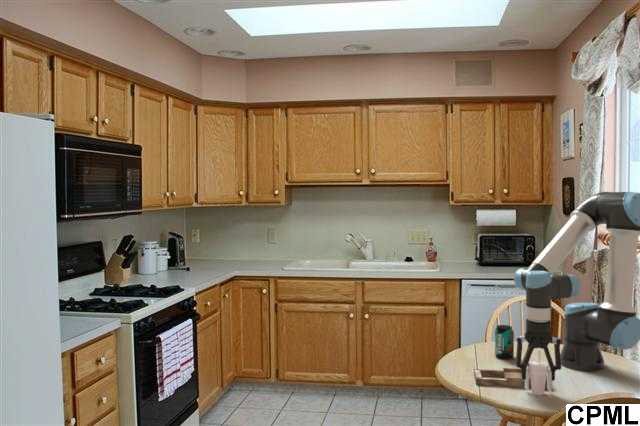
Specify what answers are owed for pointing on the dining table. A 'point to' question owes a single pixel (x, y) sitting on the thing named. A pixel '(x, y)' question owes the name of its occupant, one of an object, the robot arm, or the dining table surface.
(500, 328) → the beverage can
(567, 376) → the dining table surface
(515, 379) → the rail board
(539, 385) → the smoothie
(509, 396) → the dining table surface
